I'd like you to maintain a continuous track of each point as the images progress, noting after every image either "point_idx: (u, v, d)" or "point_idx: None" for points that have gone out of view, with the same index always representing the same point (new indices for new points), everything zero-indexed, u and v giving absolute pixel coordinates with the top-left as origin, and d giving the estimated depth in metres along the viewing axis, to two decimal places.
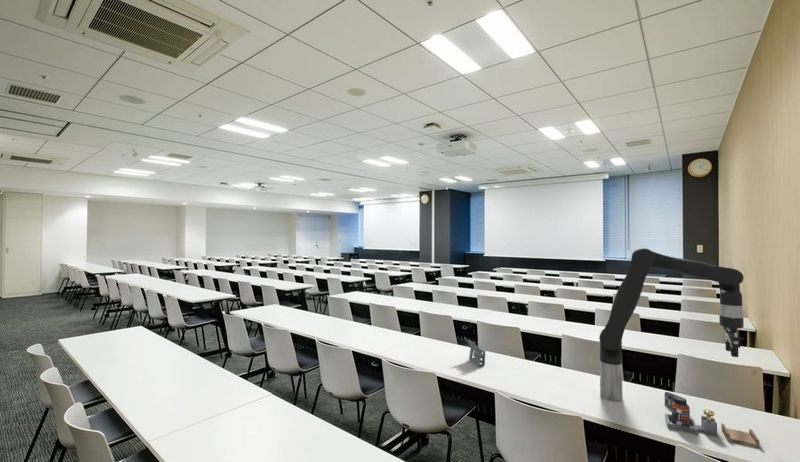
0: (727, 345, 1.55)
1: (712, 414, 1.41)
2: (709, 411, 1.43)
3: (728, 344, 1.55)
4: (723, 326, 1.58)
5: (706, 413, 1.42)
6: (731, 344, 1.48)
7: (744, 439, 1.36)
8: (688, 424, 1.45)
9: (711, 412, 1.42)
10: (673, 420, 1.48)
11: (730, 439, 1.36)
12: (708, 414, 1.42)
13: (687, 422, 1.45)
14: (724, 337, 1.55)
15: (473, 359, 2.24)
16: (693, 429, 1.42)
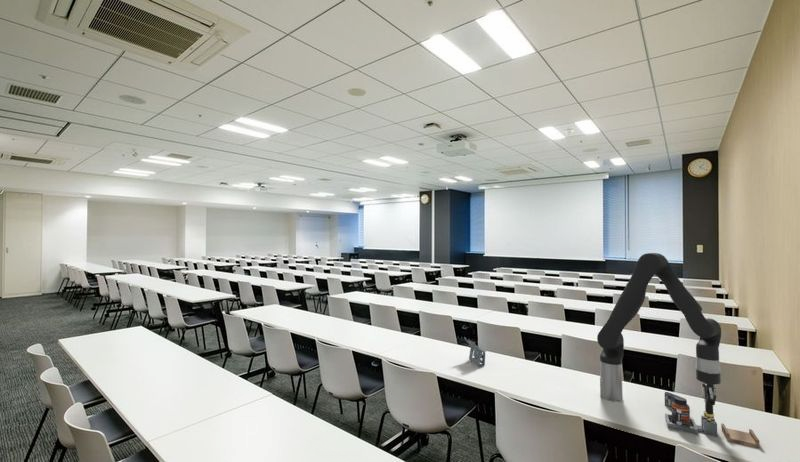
0: None
1: (712, 416, 1.41)
2: None
3: None
4: None
5: (706, 415, 1.42)
6: (706, 402, 1.42)
7: (744, 439, 1.36)
8: (688, 424, 1.45)
9: (711, 414, 1.42)
10: (673, 420, 1.48)
11: (730, 439, 1.36)
12: (708, 416, 1.42)
13: (687, 422, 1.45)
14: (703, 394, 1.45)
15: (473, 359, 2.24)
16: (693, 429, 1.42)
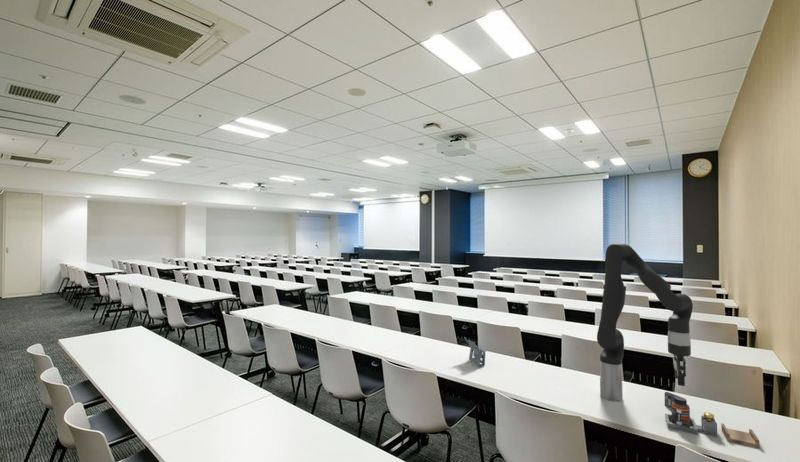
0: (676, 372, 1.52)
1: (712, 417, 1.41)
2: (709, 414, 1.43)
3: None
4: None
5: (706, 416, 1.42)
6: None
7: (744, 439, 1.36)
8: (688, 424, 1.45)
9: (711, 415, 1.42)
10: (673, 420, 1.48)
11: (730, 439, 1.36)
12: (708, 417, 1.42)
13: (687, 422, 1.45)
14: None
15: (473, 359, 2.24)
16: (693, 429, 1.42)
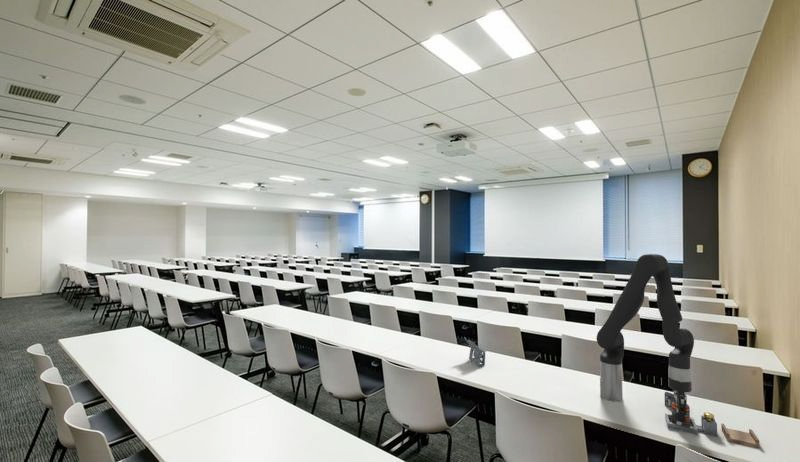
0: None
1: (712, 417, 1.41)
2: (709, 414, 1.43)
3: None
4: None
5: (706, 416, 1.42)
6: (678, 409, 1.45)
7: (744, 439, 1.36)
8: (688, 424, 1.45)
9: (711, 415, 1.42)
10: (673, 420, 1.48)
11: (730, 439, 1.36)
12: (708, 417, 1.42)
13: (687, 422, 1.45)
14: None
15: (473, 359, 2.24)
16: (693, 429, 1.42)
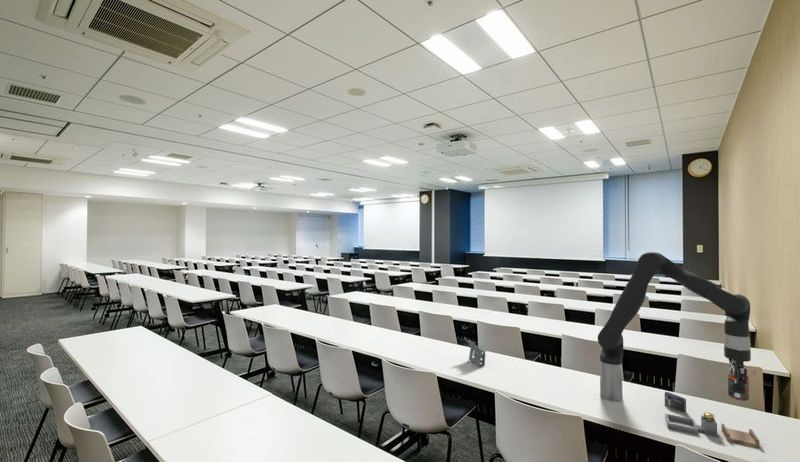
0: None
1: (712, 417, 1.41)
2: (709, 414, 1.43)
3: None
4: None
5: (706, 416, 1.42)
6: (737, 380, 1.36)
7: (744, 439, 1.36)
8: (747, 395, 1.36)
9: (711, 415, 1.42)
10: (730, 392, 1.39)
11: (730, 439, 1.36)
12: (708, 417, 1.42)
13: (746, 393, 1.36)
14: (730, 371, 1.42)
15: (473, 359, 2.24)
16: (693, 429, 1.42)
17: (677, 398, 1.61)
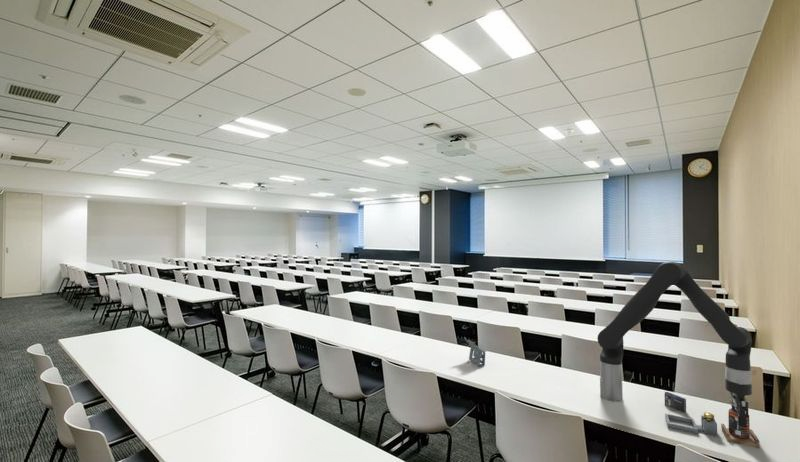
0: None
1: (712, 417, 1.41)
2: (709, 414, 1.43)
3: None
4: None
5: (706, 416, 1.42)
6: (738, 413, 1.35)
7: (744, 439, 1.36)
8: (748, 433, 1.36)
9: (711, 415, 1.42)
10: (731, 429, 1.39)
11: (730, 439, 1.36)
12: (708, 417, 1.42)
13: (747, 431, 1.36)
14: (730, 402, 1.42)
15: (473, 359, 2.24)
16: (693, 429, 1.42)
17: (677, 398, 1.61)
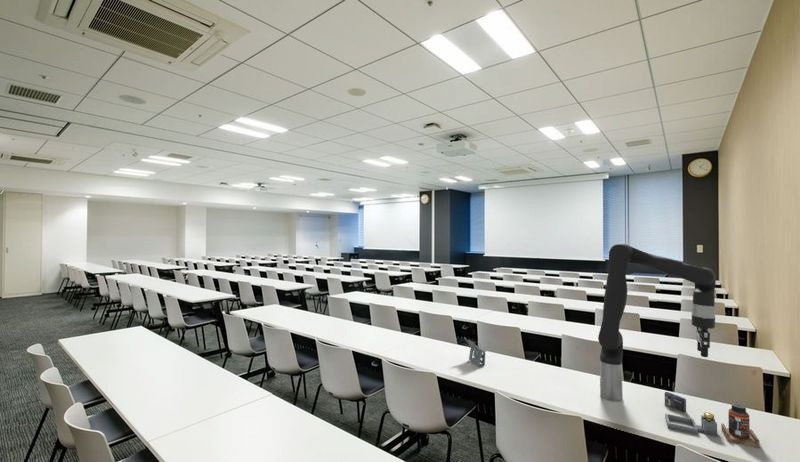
0: (699, 345, 1.54)
1: (712, 417, 1.41)
2: (709, 414, 1.43)
3: (700, 344, 1.54)
4: (696, 326, 1.56)
5: (706, 416, 1.42)
6: (701, 344, 1.47)
7: (744, 439, 1.36)
8: (748, 433, 1.36)
9: (711, 415, 1.42)
10: (731, 429, 1.39)
11: (730, 439, 1.36)
12: (708, 417, 1.42)
13: (747, 431, 1.36)
14: (696, 337, 1.54)
15: (473, 359, 2.24)
16: (693, 429, 1.42)
17: (677, 398, 1.61)
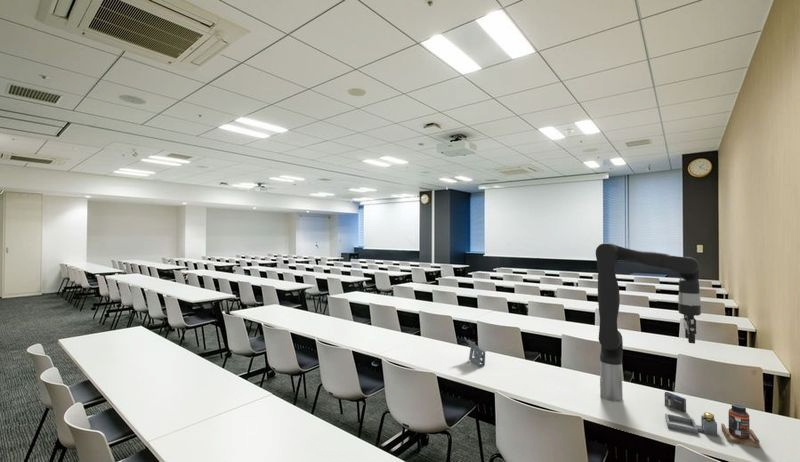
0: (686, 332, 1.59)
1: (712, 417, 1.41)
2: (709, 414, 1.43)
3: (687, 331, 1.59)
4: None
5: (706, 416, 1.42)
6: None
7: (744, 439, 1.36)
8: (748, 433, 1.36)
9: (711, 415, 1.42)
10: (731, 429, 1.38)
11: (730, 439, 1.36)
12: (708, 417, 1.42)
13: (747, 431, 1.36)
14: None
15: (473, 359, 2.24)
16: (693, 429, 1.42)
17: (677, 398, 1.61)
